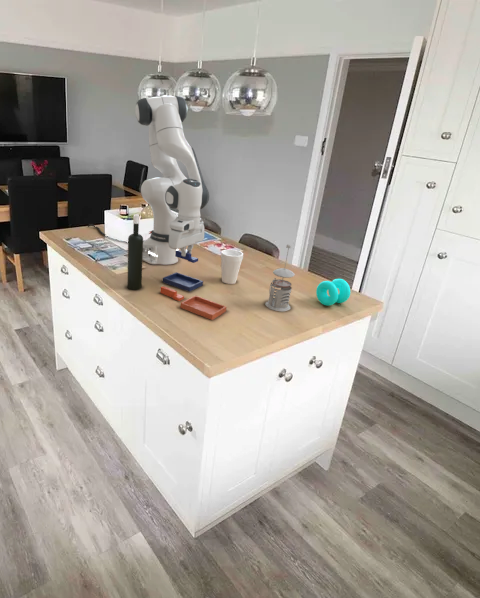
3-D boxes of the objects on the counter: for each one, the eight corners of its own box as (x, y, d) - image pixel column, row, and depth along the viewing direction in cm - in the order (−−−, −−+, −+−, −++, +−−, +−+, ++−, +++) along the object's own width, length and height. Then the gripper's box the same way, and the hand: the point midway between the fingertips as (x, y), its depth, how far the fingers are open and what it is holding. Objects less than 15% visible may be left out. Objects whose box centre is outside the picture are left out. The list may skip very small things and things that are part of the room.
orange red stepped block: (159, 293, 166) (159, 287, 165) (164, 291, 168) (164, 285, 167) (179, 301, 161) (179, 295, 159) (183, 298, 163) (184, 292, 162)
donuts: (348, 306, 167) (354, 283, 163) (331, 310, 163) (337, 286, 159) (329, 296, 175) (334, 274, 171) (312, 300, 170) (317, 277, 166)
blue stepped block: (174, 256, 173) (174, 250, 172) (178, 255, 175) (179, 249, 174) (193, 263, 168) (194, 256, 167) (198, 261, 170) (198, 255, 169)
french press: (295, 306, 163) (307, 245, 153) (278, 315, 156) (290, 251, 145) (274, 298, 169) (285, 239, 159) (257, 305, 162) (267, 243, 151)
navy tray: (162, 282, 177) (162, 277, 176) (176, 276, 184) (176, 272, 183) (189, 291, 169) (189, 287, 169) (202, 285, 177) (203, 281, 176)
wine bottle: (131, 291, 166) (133, 216, 153) (124, 286, 170) (126, 213, 158) (144, 288, 169) (146, 215, 157) (137, 283, 173) (139, 212, 161)
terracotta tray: (180, 307, 155) (180, 302, 155) (194, 299, 163) (195, 295, 162) (212, 320, 148) (212, 315, 147) (226, 311, 155) (226, 306, 154)
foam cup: (238, 286, 178) (242, 257, 173) (217, 283, 180) (220, 254, 174) (240, 278, 187) (244, 251, 181) (219, 275, 188) (222, 248, 183)
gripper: (197, 216, 175) (194, 248, 180) (166, 224, 159) (164, 258, 165) (209, 219, 171) (206, 251, 177) (179, 227, 156) (177, 262, 162)
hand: (186, 255), depth 171 cm, fingers closed on blue stepped block
